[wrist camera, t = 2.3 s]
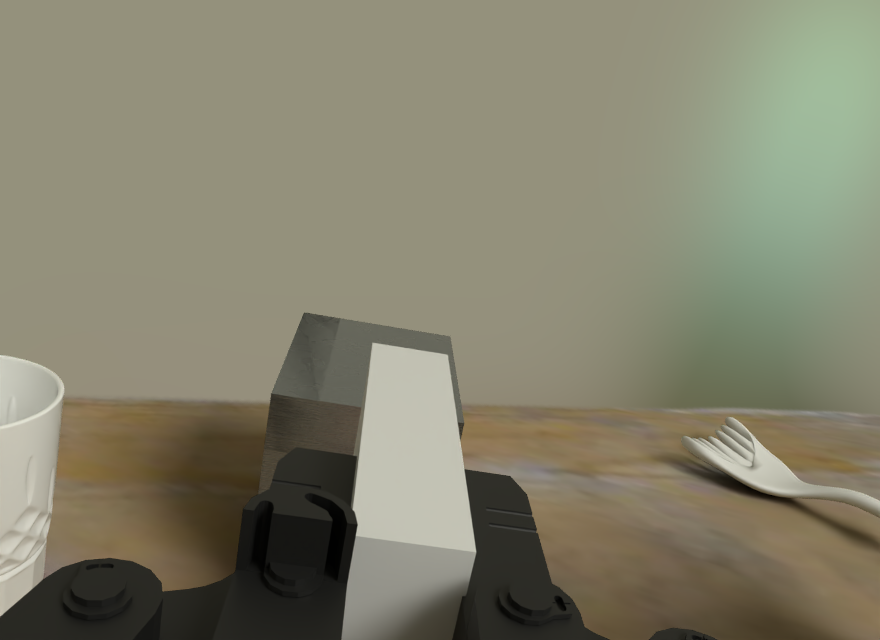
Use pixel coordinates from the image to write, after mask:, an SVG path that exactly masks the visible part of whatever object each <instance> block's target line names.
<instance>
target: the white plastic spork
mask: <svg viewBox="0 0 880 640" xmlns="http://www.w3.org/2000/svg"><path fill="white" fill-rule="evenodd" d="M725 423H726V425H727V426H728V427H727V426H725V425H721V429H722V431H723V432H724V433H723V432H721V431H718V430H716V431H715V432H716V435H717V436H718V438H719V439H720V440H721V442H720V441H719V440H718V439H716V438H713V437H711V436H709V437H708V439H709V442H710V443H709V442H708V441H706V440H704V439H702V438H698V439H694V438H692V439H691V438H689V437H687V436H683V437H682V438H681V442H682V445H683V446H684V447H685V448H686V449H687V450H688V451H689V452H691V453H692V454H694V455H695V456H697V457H698V458H700V459H701V460H703V461H705V462H706V463H708V464H710V465H712V466H713V467H715V468H717V469H719V470H721V471H723V472H724V473H726V474H728V475H729V476H731V477H733V478H734V479H736V480H738V481H740V482H741V483H743V484H745V485H747V486H749V487H751V488H753V489H755V490H758V491H760V492H763V493H766V494H770V495H774V496H779V497H787V498H802V499H821V500H831V501H836V502H842V503H846V504H849V505H852V506H855V507H858V508H860V509H862V510H864V511H866V512H869V513H871V514H873V515H875V516H877V517H879V518H880V501H879V500H877V499H875V498H872V497H870V496H868V495H866V494H863V493H860V492H856V491H853V490H849V489H843V488H837V487H827V486H818V485H811V484H807V483H804V482H802V481H801V480H799V479H798V478H797V477H796V476H795V475H794V474H793V473H792V472H791V471H790V469H789V468H788V467H787V466H786V465H785V464H784V463H782V462H781V461H780V460H779V459H778V458H776V457H775V456H774V455H773V454H771V453H770V452H769V451H768V450H767V449H766V448H764V447H763V445H762V444H761V443H760V442H759V441H758V440H757V439H756V438H755V437H754V436H753V435H752V434H751V433H750V432H749V431H748V430H747V429H746V428H745V427H744V426H743V425H742V424H741V423H740V422H739V421H737V420H736V419H734V418H732V417H727V418H726V419H725Z"/></svg>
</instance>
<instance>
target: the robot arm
mask: <svg viewBox="0 0 880 640" xmlns="http://www.w3.org/2000/svg"><path fill="white" fill-rule="evenodd" d="M536 530H537V529H536V525H535V522H534V518H533V517H532V511H531V507H530V504H529V500H528V497H527V494H526V493H525V492H524V491H523V490H522V489H521V487H520V486H519V485H518V484H517V483H516V482H515V481H514V480H513V479H512V478H511V477H510V476H506V475H499V474H492V473H486V472H479V471H472V470H465V469H464V464H463V457H462V450H461V443H460V436H459V429H458V422H457V415H456V408H455V401H454V394H453V388H452V381H451V374H450V367H449V360H448V355H446V354H440V353H434V352H428V351H422V350H415V349H409V348H403V347H397V346H390V345H384V344H378V343H372V349H371V354H370V360H369V366H368V372H367V378H366V384H365V390H364V396H363V401H362V407H361V413H360V419H359V425H358V431H357V437H356V443H355V448H354V454H353V455H347V454H340V453H333V452H326V451H319V450H312V449H305V448H298V447H296V448H294V449H293V450H292V451H290V452H289V453H288V454H287V455H285V456H284V457H283V458H281V459H280V460H279V461H278V463H277V466H276V469H275V472H274V475H273V479H272V483H271V485H270V488H269V490H266V491H264V492H262V493H260V494H258V495H256V496H254V497H252V498H251V499H250V501H249V502H248V503H247V505H246V506H245V507H244V509H243V514H242V522H241V530H240V538H239V546H238V554H237V562H236V570H235V572H234V573H233V574H231V575H230V576H228V577H226V578H225V579H223V580H221V581H219V582H216V583H213V584H210V585H207V586H203V587H198V588H192V589H185V590H175V591H165V592H162V583H161V581H160V580H159V579H158V578H157V577H156V576H155V574H154V573H153V572H152V571H151V570H150V569H148V568H145V567H143V566H141V565H139V564H137V563H135V562H132V561H126V560H120V559H113V558H106V559H93V560H85V561H81V562H78V563H75V564H72V565H68V566H65V567H62V568H61V569H59V570H57V571H56V572H54V573H53V574H51V575H49V576H48V577H46V578H45V579H43V580H42V581H41V582H39V583H38V584H37V585H36V586H35V587H34V588H33V589H31V590H30V591H29V592H28V593H27V594H26V595H25V596H23V597H22V598H21V599H20V600H19V601H18V602H16V603H15V604H14V605H13V606H12V607H11V608H10V609H8V610H7V611H6V612H5V613H4V614H3V615H2V616H0V640H609V639H607V638H605V637H602V636H600V635H598V634H596V633H593V632H592V631H590V630H589V629H587V628H585V627H584V624H583V620H582V617H581V614H580V612H579V610H578V608H577V607H576V605H575V603H574V602H573V600H572V599H571V598H570V597H569V596H568V595H567V594H566V593H564V592H563V591H562V590H561V589H560V588H559V587H557V586H555V585H553V584H552V582H551V579H550V575H549V572H548V568H547V564H546V561H545V557H544V554H543V550H542V547H541V543H540V539H539V536H538V533H536ZM649 640H717V639H715V638H713V637H711V636H708V635H706V634H702V633H699V632H696V631H693V630H688V629H678V628H670V629H666V630H662V631H658V632H656V633H655V634H654V635H653V636H652V637H651V638H650V639H649Z"/></svg>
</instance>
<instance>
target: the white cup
mask: <svg viewBox="0 0 880 640" xmlns="http://www.w3.org/2000/svg"><path fill="white" fill-rule="evenodd" d="M63 400H64V384H63V382H62V381H61V379H60V378H59V377H58V376H57V375H56V374H55V373H54V372H53V371H51V370H49V369H48V368H46V367H44V366H42V365H39V364H37V363H34V362H31V361H27V360H24V359H20V358H16V357H10V356H4V355H0V616H2V615H3V614H4V613H5V612H6V611H7V610H8V609H10V608H11V607H12V606H13V605H14V604H15V603H16V602H18V601H19V600H20V599H21V598H22V597H23V596H25V595H26V594H27V593H28V592H29V591H30V590H31V589H33V588H34V587H35V586H36V585H37V584H38V583H39V582H41V581H42V579H43V576H44V566H45V554H46V541H47V534H48V530H49V526H50V522H51V516H52V504H53V495H54V490H55V483H56V474H57V463H58V452H59V441H60V430H61V420H62V410H63Z"/></svg>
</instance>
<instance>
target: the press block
mask: <svg viewBox="0 0 880 640" xmlns="http://www.w3.org/2000/svg"><path fill="white" fill-rule="evenodd" d="M372 343H378V344H384V345H390V346H397V347H403V348H409V349H415V350H422V351H428V352H434V353H440V354H446V355H448V360H449V367H450V374H451V381H452V388H453V394H454V401H455V408H456V415H457V422H458V429H459V436H460V440H461V435H462V431H463V426H464V419H463V413H462V407H461V400H460V394H459V388H458V382H457V376H456V370H455V363H454V357H453V351H452V344H451V338H450V337H449V336H444V335H438V334H431V333H425V332H419V331H413V330H407V329H400V328H394V327H389V326H382V325H377V324H370V323H365V322H358V321H353V320H346V319H341V318H334V317H328V316H322V315H316V314H310V313H304V314H303V317H302V319H301V322H300V324H299V326H298V329H297V332H296V334H295V337H294V339H293V342H292V344H291V346H290V349H289V351H288V354H287V356H286V359H285V361H284V364H283V366H282V369H281V371H280V373H279V376H278V378H277V381H276V384H275V386H274V388H273V391H272V393H271V400H270V408H269V415H268V423H267V430H266V438H265V446H264V453H263V461H262V468H261V476H260V483H259V491H258V494H260V493H262V492H264V491H266V490H269V488H270V485H271V483H272V479H273V475H274V472H275V469H276V466H277V463H278V461H279V460H280V459H281V458H283V457H284V456H285V455H287V454H288V453H289V452H290V451H292V450H293V449H294V448H296V447H298V448H305V449H312V450H319V451H326V452H333V453H340V454H347V455H353V454H354V448H355V443H356V437H357V431H358V425H359V419H360V413H361V407H362V401H363V396H364V390H365V384H366V378H367V372H368V366H369V360H370V354H371V349H372Z"/></svg>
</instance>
